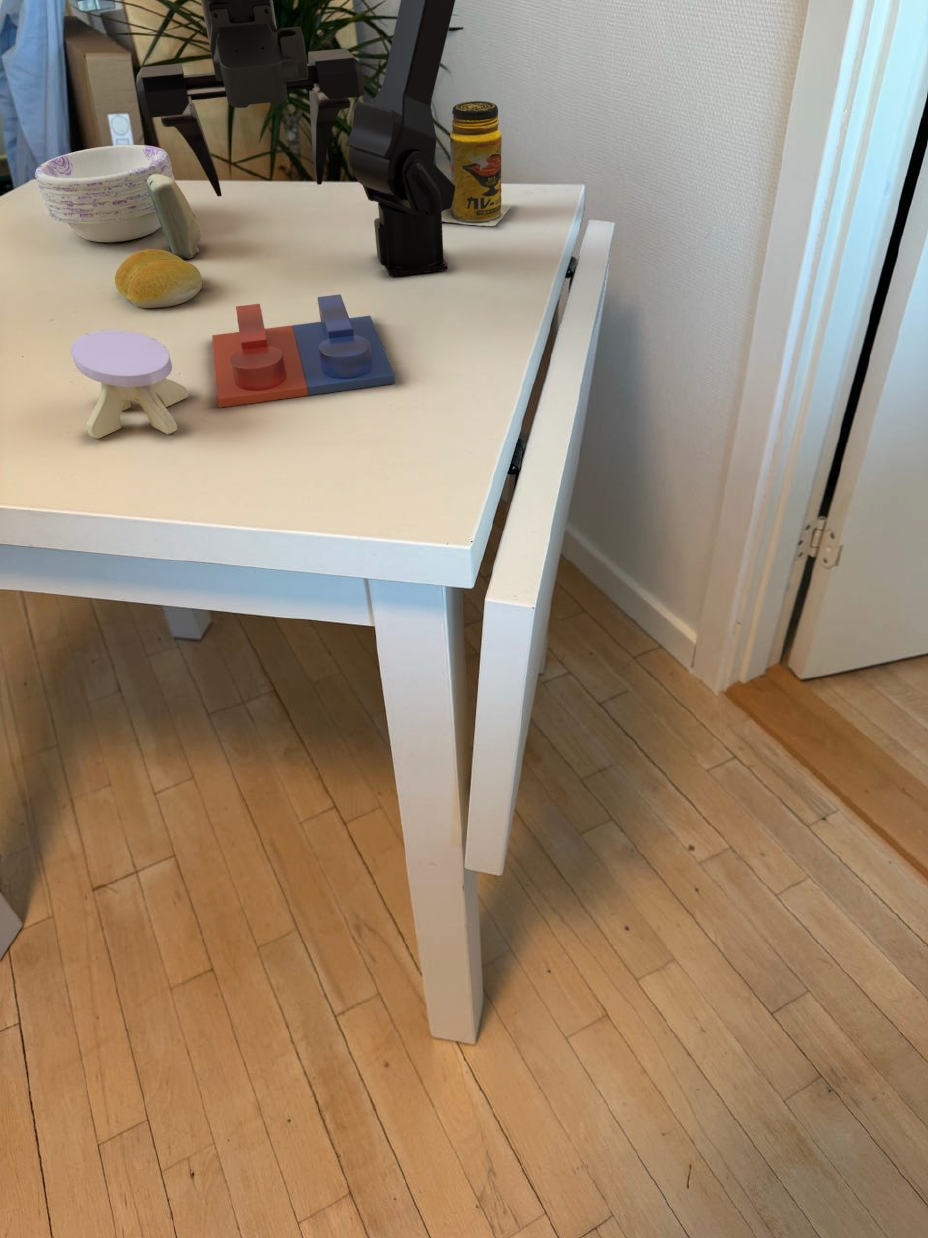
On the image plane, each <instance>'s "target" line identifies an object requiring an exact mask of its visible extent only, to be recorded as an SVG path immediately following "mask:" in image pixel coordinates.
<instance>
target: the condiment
mask: <svg viewBox="0 0 928 1238" xmlns="http://www.w3.org/2000/svg"><path fill="white" fill-rule="evenodd" d="M451 114H452V122H451V127H452V130H451V132H450V135H449V151H450V152H449V153H450V154H449V155H450V156H449V157H450V181H451V182H452V183H453V184H454V185H455V193H454V198H453V202H452V207H451V208H450V209H447V210H443V212H442V222H445V223H453V224H460V225H469V226H470V225H472V226H479V227H480V226H481V227H483V226H485V227H494V226H497V224H499V222H500V221H501V220H502V219H503V218H504V217H505V215H506V214H507V213H508V211H509V210H510V208H512V206H511V205H502V201H503V200H502V192H503V191H502V189H503V188H502V146H503V145H502V144H503V143H502V140H503V139H502V136H503V135H502V133H501V131H500V130H499V125H500V123H499V108H498V105H496V103H494V102H490V101H483V100H470V101H463V102H460V103H457V104H455V105H454V106H453V107H452V112H451Z"/></svg>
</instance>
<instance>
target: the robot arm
mask: <svg viewBox="0 0 928 1238" xmlns="http://www.w3.org/2000/svg"><path fill="white" fill-rule="evenodd" d="M200 4H201V8H202V14H203V19H204V23H205V28H206V33H207V34H206V35H207V39H208V43H209V50H210V56H211V60H212V64H213V65H212V67H213V70H214V71H213V72H205V73H194V74H193V73H192V74H185V72H184V67H183V64H182V63H174V64H173V63H172V64H162V65H161V64H160V65H151V66H141V68H140V70H139V72H138V73H137V75H136V85H135V86H136V91H137V96H138V99H139V104H140V107H141V111H142V115H143V118H150V119H152V118H153V119H154V118H160V122H161V125H162V126H163V128H175V129H176V130H177V132H179V134H180V135H181V136H182V137H183V139H184V140H185V142H186V143H187V145H188V146H189V147H190V149H191V150H192V152H193V154H194V156H195V157H196V159H197V160H198V162H199V165H200V166H201V169H202V170H203V172H204V174H205V175H206V177H207V179H208V182H209V183H210V185H211V187H212V189H213V190H214V193H215V194H216V196H217V197H222V196H223V195H222V190H221V189H222V188H221V184H220V180H219V175H218V172H217V168H216V166H215V163H214V159H213V156H212V154H211V151H210V147H209V145H208V142H207V139H206V135H205V132H204V129H203V126H202V123H201V121H200V118H199V114H198V111H197V108H196V105H195V102H193V101H201V100H209V99H220V98H226V101H227V103H228V105H230V106H231V107H233V108H237V109H244V108H245V109H246V108H248V107H249V106H250V105H251V106H252V105H260V104H270V105H272V106H273V105H281V104H283V103H285V102H286V101H287V100H288V97H289V96H288V92H290V91H291V92H292V91H301V90H309V91H308V95H309V113H310V131H311V133H310V134H311V152H312V165H313V172H314V177H315V182H316V184H317V185H318V186H319V185H322V184H323V179H324V175H325V174H324V172H325V166H326V161H327V155H328V149H329V144H330V138H331V135H332V131H333V129H334V124H335V122H336V119H337V118H338V115H339V114H340V111H341V110H347V109H350V108H351V100H350V99H351V98H359V97H363V96H365V95H366V94H365V93H366V91H365V84H364V82H365V81H364V74H363V69H362V63H360V61H359V60H358V59H357V58H356V57H355V56H354V55H353V54H352V53H351V52H350V51H349V50H348V49H347V48H337V49H325V50H315V51H314V50H313V51H308V54H307V52H306V43H305V37H304V33H303V31H302V27H301V26H292V27H291V26H290V27H280V28H278V27H277V21H276V15H275V14H276V13H275V8H274V1H273V0H200ZM455 4H456V0H400V3H399V6H398V7H399V8H398V11H397V17H396V21H395V26H394V30H393V36H392V40H391V44H390V48H389V54H388V58H387V62H386V67H385V72H384V77H383V81H382V85H381V88H380V89H379V91H378V93H377V94H376V95H375V97H374V98H373V99H372V101H371V102H370V103H368V102H363V101H359V100H358V101H357V102H356V104H355V107H354V109H353V116H352V126H351V130H350V134H349V136H348V138H347V139H346V142H345V146H346V147H347V148H349V157H348V161H349V168H350V169H351V170H352V173H353V176H354V178H355V179H356V180H357V181H358V183H359V184H360V185H362V187H363V190H364V192H365V195H366V197H367V200H368V201H370V202H376V203H377V209H378V217H377V218H375V219H374V220H373V221H374V222H373V223H374V235H375V236H374V237H375V245H376V246H375V247H376V257H377V259H378V261H379V263H380V265H381V266H382V267H384V270H385V271H386V273H387V275H388V276H389V277H396V276H397V277H398V276H406V275H413V274H414V275H415V274H416V275H417V274H422V273H432V272H440V271H441V272H442V271H447V270H448V268H449V267H448V263H447V261H446V260H445V257H444V239H443V236H444V235H443V221H442V212H443V210H447V209H450V208H451V207H452V202H453V198H454V193H455V185H454V184H453V183H452V182H451V179H449V178H448V177H447V176H446V175H445V173H443V172H442V170H441V169H439V168H438V166H437V165H436V164H435V157H436V150H437V143H438V142H437V141H438V140H437V139H438V138H437V131H436V128H435V127H436V126H435V121H434V117H433V111H432V101H433V96H434V92H435V89H436V83H437V79H438V76H439V75H438V74H439V71H440V67H441V64H442V63H441V62H442V58H443V54H444V49H445V46H446V42H447V37H448V33H449V29H450V24H451V21H452V17H453V12H454V8H455ZM307 55H308V57H307ZM307 58H308V59H307ZM310 89H312V90H310Z"/></svg>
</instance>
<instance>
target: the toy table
mask: <svg viewBox="0 0 928 1238" xmlns="http://www.w3.org/2000/svg"><path fill="white" fill-rule="evenodd" d="M70 354H71V358H72V360H73V363H74V366H75V368H76V369H77V370H78V371H79V372H80V373H81V374H82V375H84V376H85V377H87V378H89V379H90V380H93V381H96V382H99V383H101V384H100V385H101V387H100V393H99V396H98V398H97V402H96V404H95V407H94V408H93V410H92V412H91V414H90V416H89V418H88V420H87V423H86V428H87V432H88V434H89V436H91V437H92V438H94V439H96V440H99V439H101V438H103V437H105V436H108V435H109V434H111V433H115V432H116V431H118V430H120V429H122V427H123V426H122V422H121V413H122V412H123V411H126V410H128V409H131V408H132V404H131V401H132V400H136V401H137V402H138V404H139V405H140V406H141V407H142V409H143V411H144V413H145V414H146V417H147V419H148V421H149V424H150V426H151V427H152V428H155V429H157V430H158V431H161V432H162V433H164V434H166V435H170V434H173V433H174V432H176V431H177V430H178V425H177V422H176V421H175V419H174V417H173V416H172V414H171V412H170V411H169V410H168V409H167V408H168V407H170V406H172V405H174V404H176V403H179V402H181V401H183V400H185V399H187V398H188V397H189V391H188V389H187V388H186V387H185V386H184V385H182V384H180V383H179V382H176V381H174V380H172V379H169V378H167V377H169V375H170V374H171V372H172V370H173V363H172V359H171V355H170V352H169V350H168V348H167V347H166V346H165V345H164V344H163V343H161V341H159V340H157V339H155V338H153V337H151V336H148V335H145V334H142V333H139V332H134V331H128V330H121V329H106V330H105V329H104V330H98V331H92V332H90V333H86V334H84V335H82V336H80V337H78V338H77V339H75V340H74V341H73V343H72V344H71V346H70ZM130 400H131V401H130Z"/></svg>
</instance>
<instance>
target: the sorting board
mask: <svg viewBox="0 0 928 1238" xmlns="http://www.w3.org/2000/svg"><path fill="white" fill-rule="evenodd" d="M349 319H350V321H351V324H352V327H353V331H354V335H358V336H362V337H364V338H366V339H367V340H368V341H369V342H370V347H371V356H372V368H371V370H370V371H369V372H367V373H366V374H364V375H362V376H359V377H355V378H348V379H338V378H333V377H329V376H327V375H325V374H324V373H323V371H322V367H321V360H320V353H319V345H320V344H321V343H322V342H323V341H324V340H326V338H325V335H324V331H323V328H322V325H321V321H315V322H314V321H313V322H307V323H299V324H291V325H284V326H275V327H268V328H266V327H265V334H266V339H267V344H268V346H272V347H276V348H278V349H280V350H281V352H282V353H283V359H284V364H285V370H286V379H285V380H284V382H282V383H281V384H280V385H278V386H276V387H273V388H270V389H266V390H257V391H253V390H245V389H242V388H240V387H238V386H237V385H236V384H235V381H234V377H233V372H232V367H231V363H230V358H231V356H232V355H233V354H234V353H235V352H237V351H239V350H241V349H242V347H241V342H240V334H239V331H235V332H227V333H219V334H213V335H211V336H212V337H211V338H212V339H211V340H212V351H213V353H212V354H213V364H214V366H213V367H214V378H215V379H214V381H215V392H216V402H217V406H218V408H219V409H220V408H227V407H233V406H240V405H249V404H257V403H263V402H271V401H277V400H284V399H291V398H292V399H293V398H299V397H300V398H301V397H306V396H315V395H321V394H329V393H336V392H343V391H350V390H351V391H352V390H358V389H365V388H372V387H380V386H385V385H386V386H387V385H394V384H396V377H395V373H394V370H393V368H392V366H391V363H390V361H389V358H388V356H387V353H386V351H385V349H384V346H383V343H382V341H381V339H380V337H379V334H378V331H377V329H376V327H375V324H374V321H373V319H372V317H371V315H363V316H355V317H349Z"/></svg>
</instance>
